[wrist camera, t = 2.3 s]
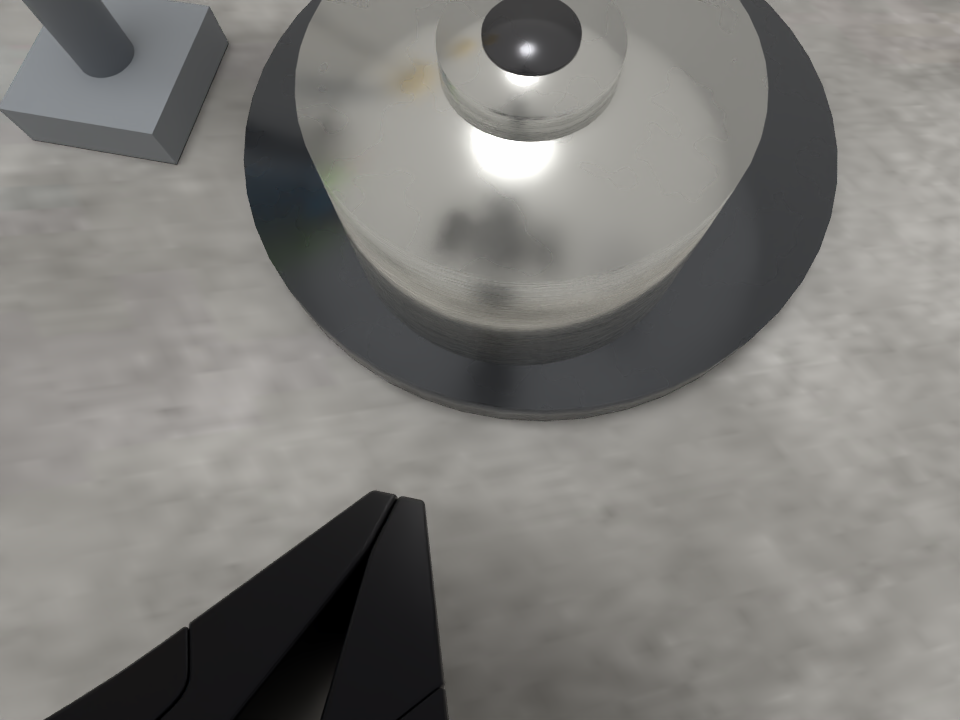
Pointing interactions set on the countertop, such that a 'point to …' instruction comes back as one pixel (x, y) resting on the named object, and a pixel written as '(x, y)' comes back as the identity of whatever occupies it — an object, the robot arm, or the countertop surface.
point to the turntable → (630, 358)
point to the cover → (528, 157)
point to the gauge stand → (116, 75)
